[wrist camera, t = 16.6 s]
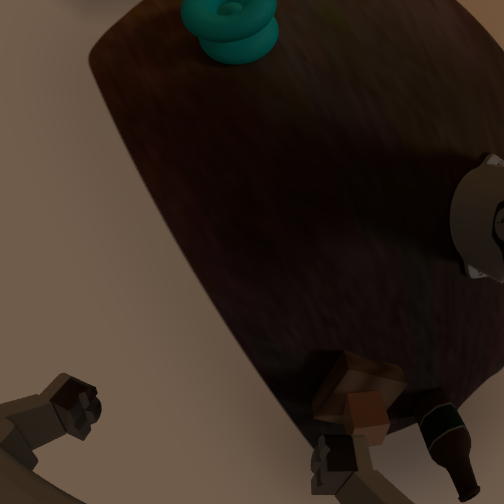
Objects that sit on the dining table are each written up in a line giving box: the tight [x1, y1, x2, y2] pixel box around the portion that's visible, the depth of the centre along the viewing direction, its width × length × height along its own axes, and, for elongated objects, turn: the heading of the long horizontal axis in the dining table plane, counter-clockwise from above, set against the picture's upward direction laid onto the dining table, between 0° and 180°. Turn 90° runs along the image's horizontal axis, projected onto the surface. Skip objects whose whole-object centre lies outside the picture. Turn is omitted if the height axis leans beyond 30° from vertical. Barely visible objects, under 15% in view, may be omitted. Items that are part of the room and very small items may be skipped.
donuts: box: [181, 0, 278, 65], centre depth 24 cm, size 10×10×10 cm
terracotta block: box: [343, 390, 390, 447], centre depth 33 cm, size 5×5×7 cm
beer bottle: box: [413, 388, 480, 502], centre depth 30 cm, size 8×8×24 cm
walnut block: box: [312, 350, 408, 425], centre depth 39 cm, size 11×11×5 cm
